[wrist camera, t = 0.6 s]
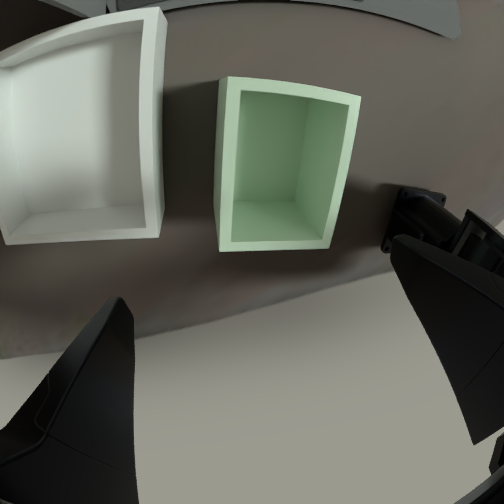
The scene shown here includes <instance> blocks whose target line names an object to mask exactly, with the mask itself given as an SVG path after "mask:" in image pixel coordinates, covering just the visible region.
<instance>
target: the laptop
mask: <svg viewBox="0 0 504 504" xmlns="http://www.w3.org/2000/svg"><path fill="white" fill-rule="evenodd" d="M39 1H42V2H45V3H48V4H50V5H53V6H55V7H58V8H61V9H63V10H65V11H68V12H70V13H73V14H75V15H77V16H79V17H82V18H84V19H89V18H93V17H97V16H101V15H105V14H106V4H107V6H108V8H109V11H110V13H116V12H121V11H127V10H134V9H141V8H150V7H160V9H161V11H164V10H168V9H173V8H179V7H184V6H190V5H197V4H204V3H213V2H223V1H236V0H39ZM292 1H306V2H316V3H324V4H331V5H338V6H344V7H350V8H355V9H360V10H364V11H369V12H373V13H377V14H381V15H385V16H389V17H392V18H396V19H399V20H402V21H405V22H408V23H411V24H414V25H417V26H420V27H423V28H425V29H428V30H431V31H433V32H436V33H438V34H441V35H443V36H445V37H448V38H450V39H457V38H458V37H459V36H460V32H461V24H460V17H459V11H458V5H457V0H292Z"/></svg>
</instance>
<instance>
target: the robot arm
mask: <svg viewBox="0 0 504 504" xmlns="http://www.w3.org/2000/svg"><path fill="white" fill-rule="evenodd" d="M404 192H405V193H404ZM403 194H404V195H403ZM445 202H446V196H445V195H444V194H442V193H437V192H431V191H425V190H419V189H412V188H406V187H403V188H401V189H400V190H399V192H398V196H397V199H396V203H395V206H394V209H393V212H392V215H391V218H390V221H389V224H388V227H387V230H386V233H385V236H384V239H383V242H382V245H381V248H380V249H381V251H382V252H383V253H391V254H390V260H391V264H392V266H393V268H394V270H395V272H396V274H397V276H398V278H399V280H400V282H401V284H402V287H403V289H404V291H405V293H406V295H407V298H408V300H409V301H410V303H411V305H412V307H413V309H414V310H415V312H416V314H417V316H418V318H419V320H420V321H421V323H422V325H423V327H424V329H425V331H426V333H427V335H428V337H429V339H430V340H431V343H432V345H433V347H434V348H435V351H436V353H437V355H438V357H439V359H440V361H441V363H442V366H443V368H444V370H445V372H446V374H447V376H448V379H449V381H450V383H451V386H452V388H453V391H454V393H455V395H456V398H457V401H458V403H459V406H460V409H461V411H462V414H463V417H464V419H465V422H466V425H467V428H468V431H469V434H470V437H471V440H472V443H473V445H475V444H477V443H479V442H481V441H482V440H484V439H485V438H487V437H489V436H490V435H492V434H493V433H495V432H496V431H498V430H499V429H501V428H502V427H504V235H503V234H501V233H500V232H499V231H498V230H497V229H495V228H494V227H493V226H492V225H490V224H489V223H488V222H487V221H485V220H484V219H482V218H481V217H479V216H478V215H476V214H475V213H473V212H472V211H470V210H469V209H467V211H466V213H465V217H464V219H463V221H460V220H459V219H458V218H457V217H455V216H454V215H453V214H452V213H450V212H449V211H448V210H446V209H445V208H444V205H445ZM134 373H135V345H134V318H133V315H132V313H131V311H130V310H129V308H128V306H127V305H126V303H125V301H124V300H123V299H122V298H121V297H116V298H111V299H109V300H108V301H107V302H106V304H105V305H104V306H103V307H102V308H101V309H100V310H99V311H98V313H97V314H96V315H95V316H94V317H93V318H92V319H91V321H90V322H89V323H88V324H87V325H86V326H85V328H84V329H83V330H82V331H81V332H80V334H79V335H78V336H77V337H76V338H75V340H74V341H73V342H72V343H71V344H70V346H69V347H68V348H67V349H66V351H65V352H64V353H63V354H62V356H61V357H60V358H59V359H58V361H57V362H56V363H55V364H54V366H53V367H52V368H51V370H50V371H49V373H48V374H47V375H46V376H45V377H44V379H43V380H42V382H41V383H40V384H39V386H38V387H37V388H36V389H35V391H34V392H33V393H32V394H31V395H30V397H29V398H28V399H27V401H26V402H25V403H24V404H23V405H22V406H21V408H20V409H19V410H18V411H17V413H16V414H15V415H14V416H13V418H12V419H11V420H10V421H9V423H8V424H7V425H6V426H5V427H4V428H3V429H1V430H0V504H139V500H138V491H137V480H136V476H135V475H136V471H135V455H134V421H133V420H134V419H133V409H134V406H133V405H134ZM489 470H490V472H491V476H490V477H489V478H488V479H486V480H485V481H484V482H483V483H481V484H480V485H479V486H478V487H476V488H475V489H474V490H472V491H471V492H470V493H468V494H467V495H466V496H464V497H463V498H461V499H460V500H458V501H457V502H455V503H454V504H504V432H503V433H502V434H501V435H500V436H499V437H498V438H497V440H496V444H495V448H494V452H493V455H492V458H491V461H490V465H489Z"/></svg>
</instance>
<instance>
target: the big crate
mask: <svg viewBox="0 0 504 504" xmlns="http://www.w3.org/2000/svg"><path fill="white" fill-rule="evenodd" d="M167 25H168V22H167V20H166V18H165V16H164V14H163V12H162V11H161V9H160V7H150V8H141V9H134V10H127V11H121V12H116V13H111V14H106V15H101V16H97V17H93V18H89V19H85V20H81V21H77V22H74V23H70V24H67V25H64V26H61V27H58V28H55V29H52V30H49V31H46V32H44V33H41V34H39V35H36V36H34V37H31V38H29V39H26V40H24V41H22V42H19V43H17V44H15V45H13V46H11V47H9V48H7V49H5V50H3V51H1V52H0V229H1V232H2V235H3V238H4V241H5V244H6V245H17V244H32V243H49V242H68V241H88V240H109V239H133V238H159V234H160V229H161V224H162V220H163V215H164V211H165V201H164V183H163V153H162V105H163V77H164V60H165V47H166V35H167Z"/></svg>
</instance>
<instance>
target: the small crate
mask: <svg viewBox="0 0 504 504" xmlns="http://www.w3.org/2000/svg"><path fill="white" fill-rule="evenodd" d="M360 101H361V97H360V96H356V95H352V94H348V93H344V92H340V91H335V90H331V89H326V88H321V87H315V86H310V85H304V84H298V83H291V82H284V81H276V80H267V79H256V78H244V77H225V78H223V79H220V80H219V89H218V104H217V121H216V140H215V164H214V195H213V207H214V215H215V223H216V231H217V238H218V246H219V252H229V251H262V250H296V249H329V247H330V243H331V239H332V235H333V232H334V228H335V224H336V220H337V216H338V212H339V208H340V203H341V199H342V195H343V190H344V186H345V181H346V177H347V172H348V167H349V163H350V158H351V153H352V148H353V142H354V137H355V131H356V126H357V120H358V114H359V108H360Z"/></svg>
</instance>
